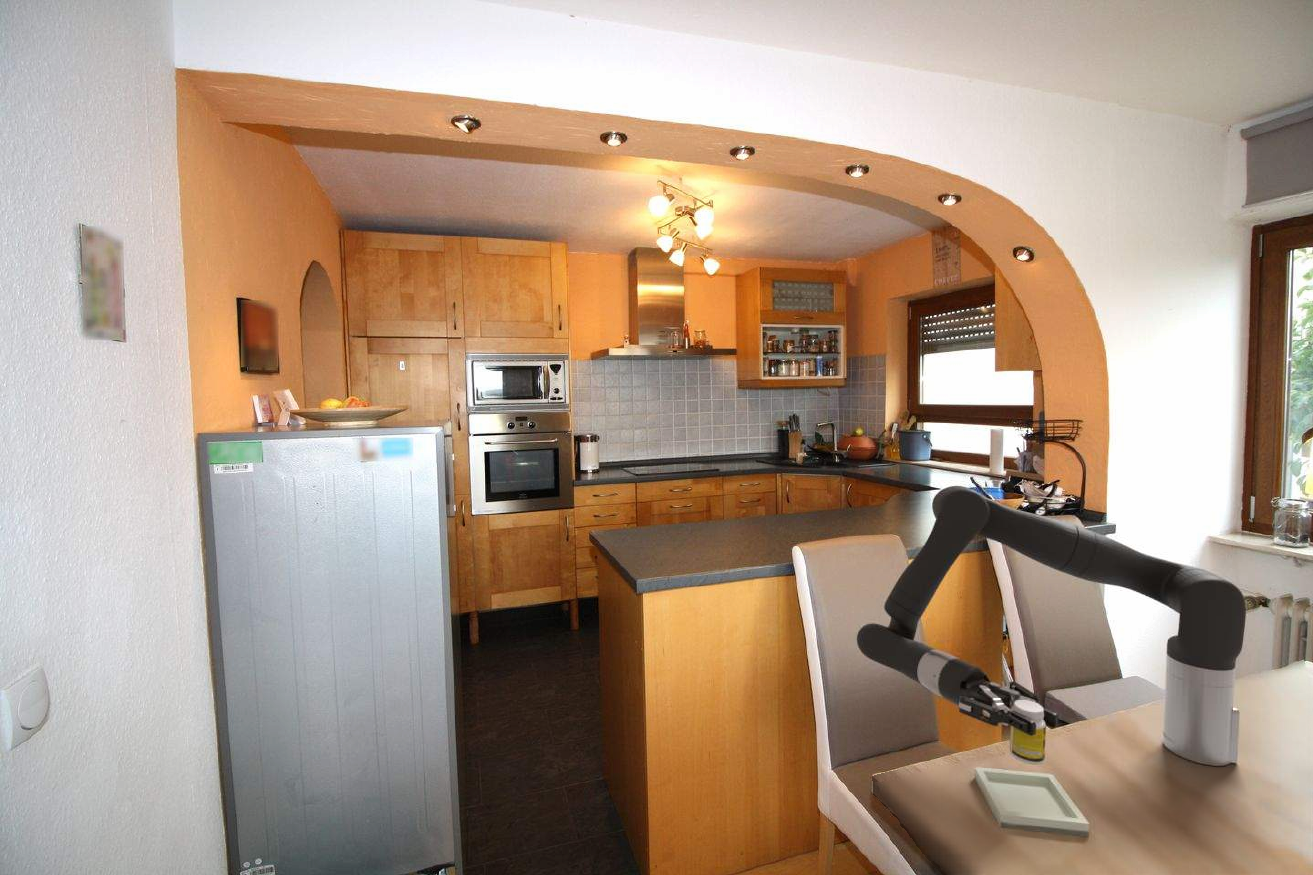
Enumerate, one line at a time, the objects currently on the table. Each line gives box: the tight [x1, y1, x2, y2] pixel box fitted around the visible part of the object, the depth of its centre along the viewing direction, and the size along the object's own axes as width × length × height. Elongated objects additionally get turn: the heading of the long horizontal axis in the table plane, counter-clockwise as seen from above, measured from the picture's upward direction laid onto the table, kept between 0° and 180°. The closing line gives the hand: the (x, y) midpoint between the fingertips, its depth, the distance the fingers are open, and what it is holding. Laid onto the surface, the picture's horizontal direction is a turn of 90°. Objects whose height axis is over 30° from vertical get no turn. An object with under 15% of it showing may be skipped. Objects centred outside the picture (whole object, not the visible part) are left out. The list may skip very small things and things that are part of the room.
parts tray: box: [974, 766, 1090, 838], centre depth 96 cm, size 12×12×2 cm
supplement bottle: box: [1009, 700, 1047, 766], centre depth 95 cm, size 5×5×8 cm
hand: (1045, 725), depth 93 cm, fingers closed on supplement bottle, 4 cm apart
